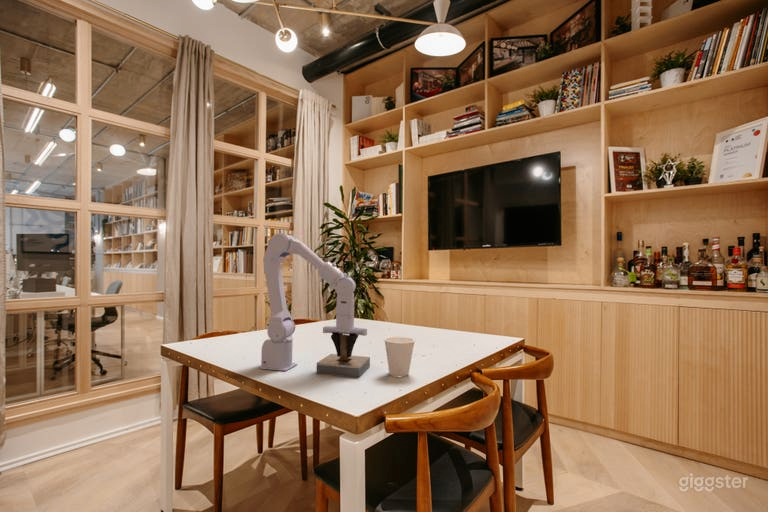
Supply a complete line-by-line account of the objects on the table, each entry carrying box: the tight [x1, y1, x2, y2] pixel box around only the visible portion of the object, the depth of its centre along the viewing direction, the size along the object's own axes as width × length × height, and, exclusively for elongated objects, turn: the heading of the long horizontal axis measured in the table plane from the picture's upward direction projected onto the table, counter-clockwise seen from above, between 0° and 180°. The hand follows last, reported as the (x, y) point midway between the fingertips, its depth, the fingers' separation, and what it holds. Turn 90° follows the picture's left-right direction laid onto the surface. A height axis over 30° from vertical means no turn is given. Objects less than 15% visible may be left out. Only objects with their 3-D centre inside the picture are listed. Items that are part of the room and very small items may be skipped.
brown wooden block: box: [340, 334, 349, 362], centre depth 121 cm, size 3×3×9 cm
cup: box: [383, 336, 416, 377], centre depth 118 cm, size 10×10×11 cm
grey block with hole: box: [316, 353, 371, 379], centre depth 121 cm, size 14×12×3 cm
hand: (344, 356), depth 121 cm, fingers closed on brown wooden block, 3 cm apart
